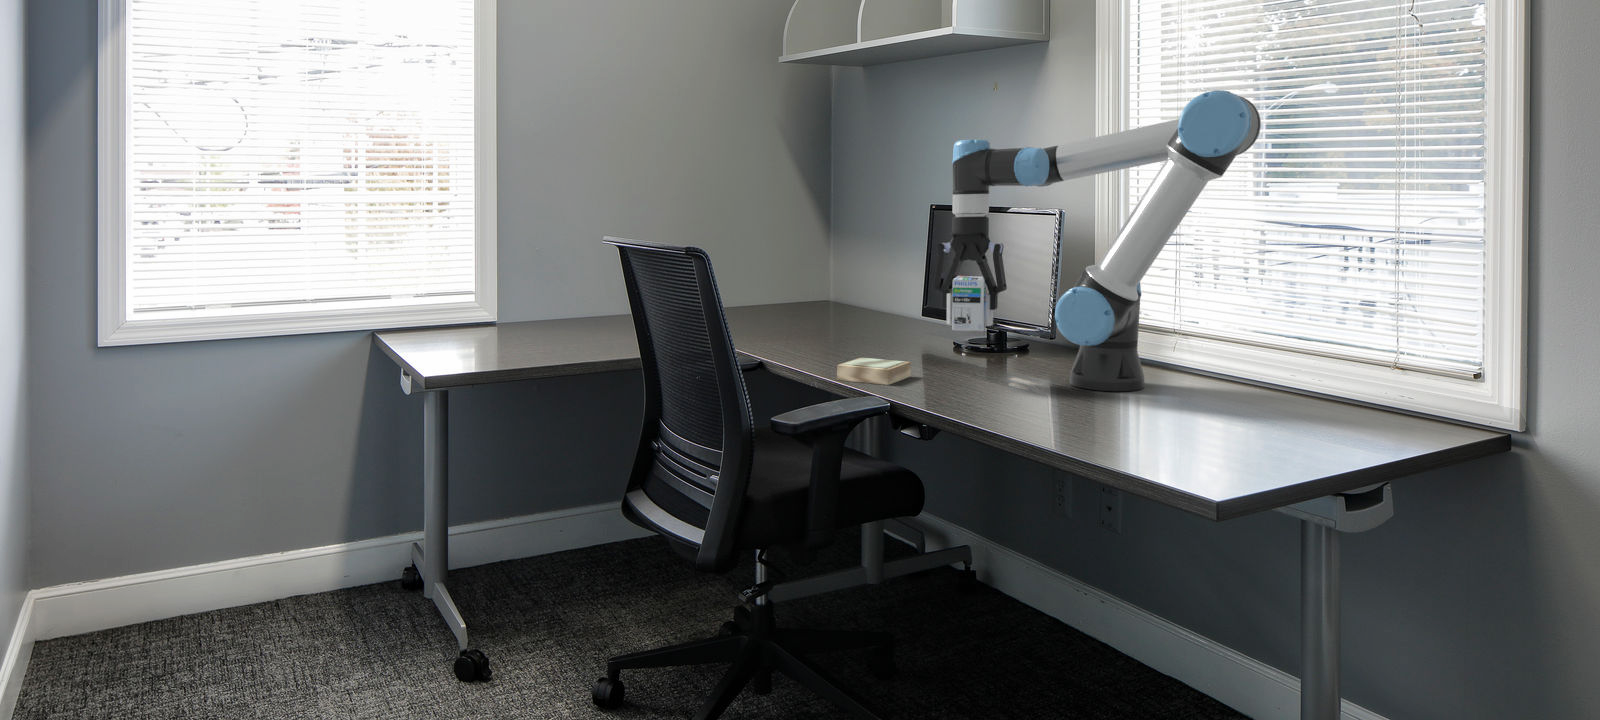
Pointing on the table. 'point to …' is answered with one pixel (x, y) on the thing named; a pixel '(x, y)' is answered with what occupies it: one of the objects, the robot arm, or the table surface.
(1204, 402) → the table surface
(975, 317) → the light bulb box
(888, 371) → the block
